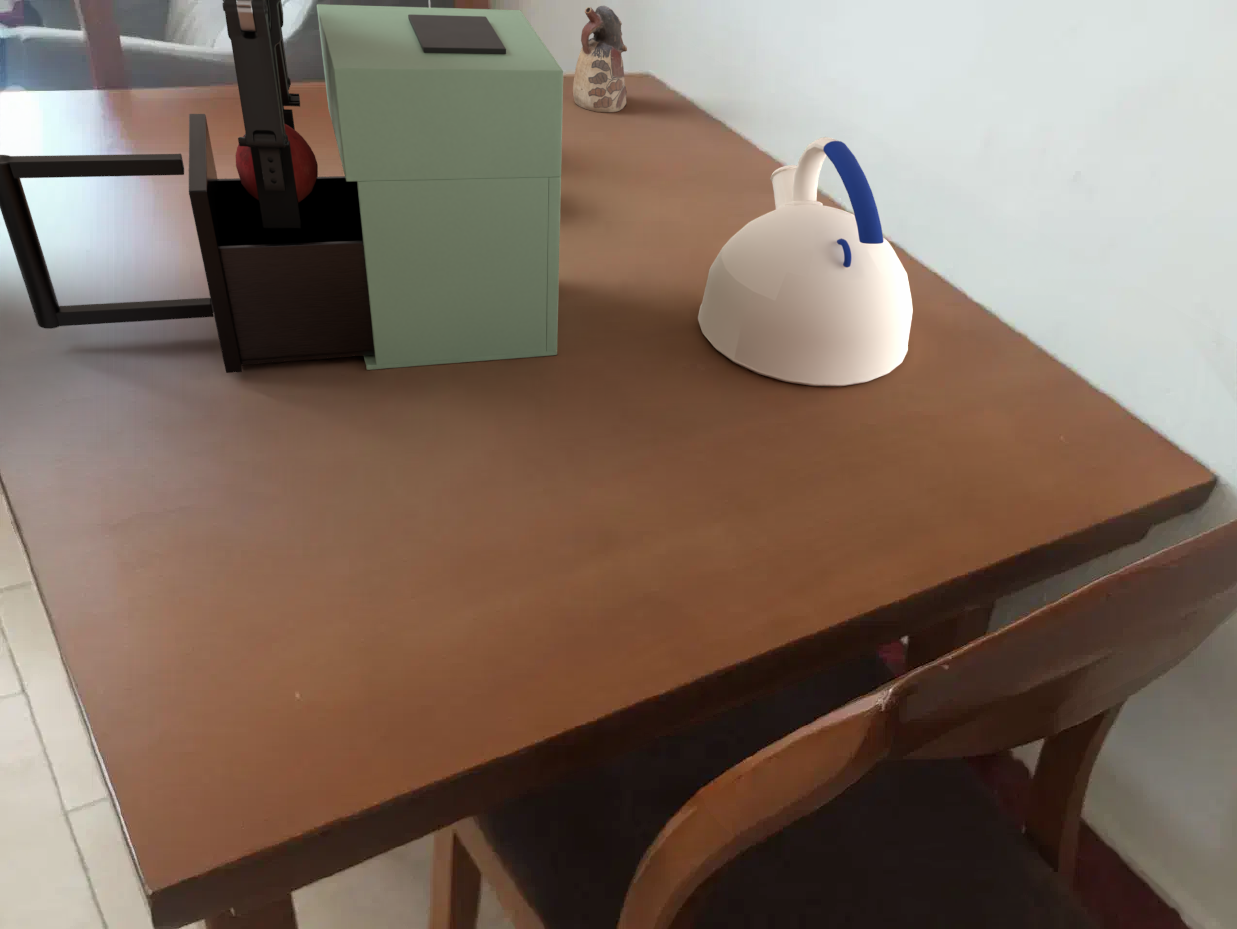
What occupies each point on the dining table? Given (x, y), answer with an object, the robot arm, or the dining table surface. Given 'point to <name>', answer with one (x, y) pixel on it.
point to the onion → (301, 159)
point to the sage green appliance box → (450, 177)
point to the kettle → (811, 283)
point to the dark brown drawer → (224, 259)
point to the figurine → (601, 63)
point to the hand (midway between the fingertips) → (283, 207)
